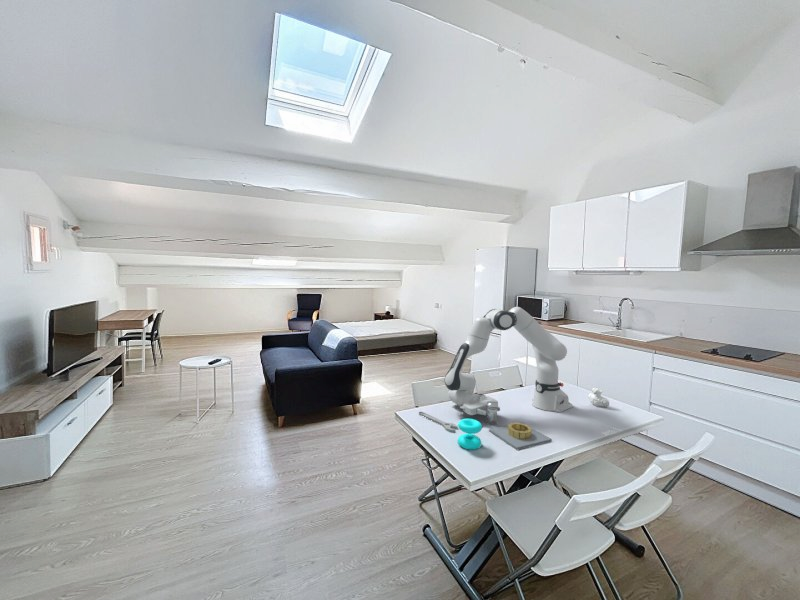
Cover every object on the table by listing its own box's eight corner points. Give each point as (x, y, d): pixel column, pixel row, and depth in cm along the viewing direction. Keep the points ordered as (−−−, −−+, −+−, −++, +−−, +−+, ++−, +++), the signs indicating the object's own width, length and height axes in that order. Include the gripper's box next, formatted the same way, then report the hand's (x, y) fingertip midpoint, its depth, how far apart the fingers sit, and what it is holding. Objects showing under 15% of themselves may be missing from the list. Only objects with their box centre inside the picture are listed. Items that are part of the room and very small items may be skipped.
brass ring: (520, 427, 158) (520, 421, 158) (536, 436, 149) (536, 430, 149) (503, 431, 154) (503, 424, 154) (518, 441, 145) (519, 434, 145)
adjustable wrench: (417, 415, 174) (417, 412, 174) (426, 412, 178) (427, 409, 177) (450, 433, 153) (450, 430, 153) (460, 430, 157) (460, 426, 157)
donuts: (453, 420, 144) (470, 415, 149) (452, 442, 145) (470, 437, 150) (469, 429, 135) (487, 424, 140) (468, 453, 136) (486, 447, 141)
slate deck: (521, 424, 164) (521, 422, 164) (551, 441, 147) (551, 438, 147) (489, 431, 156) (489, 429, 156) (516, 449, 139) (516, 447, 139)
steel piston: (492, 419, 168) (492, 400, 167) (498, 424, 164) (499, 404, 163) (484, 421, 166) (484, 402, 165) (490, 425, 162) (491, 406, 161)
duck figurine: (587, 405, 195) (580, 392, 192) (595, 396, 197) (587, 383, 194) (607, 413, 184) (599, 399, 181) (614, 403, 186) (607, 389, 183)
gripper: (457, 400, 170) (478, 409, 158) (485, 393, 181) (506, 401, 169) (457, 412, 170) (477, 422, 158) (485, 404, 181) (505, 413, 170)
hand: (492, 411), depth 164 cm, fingers open, 8 cm apart
